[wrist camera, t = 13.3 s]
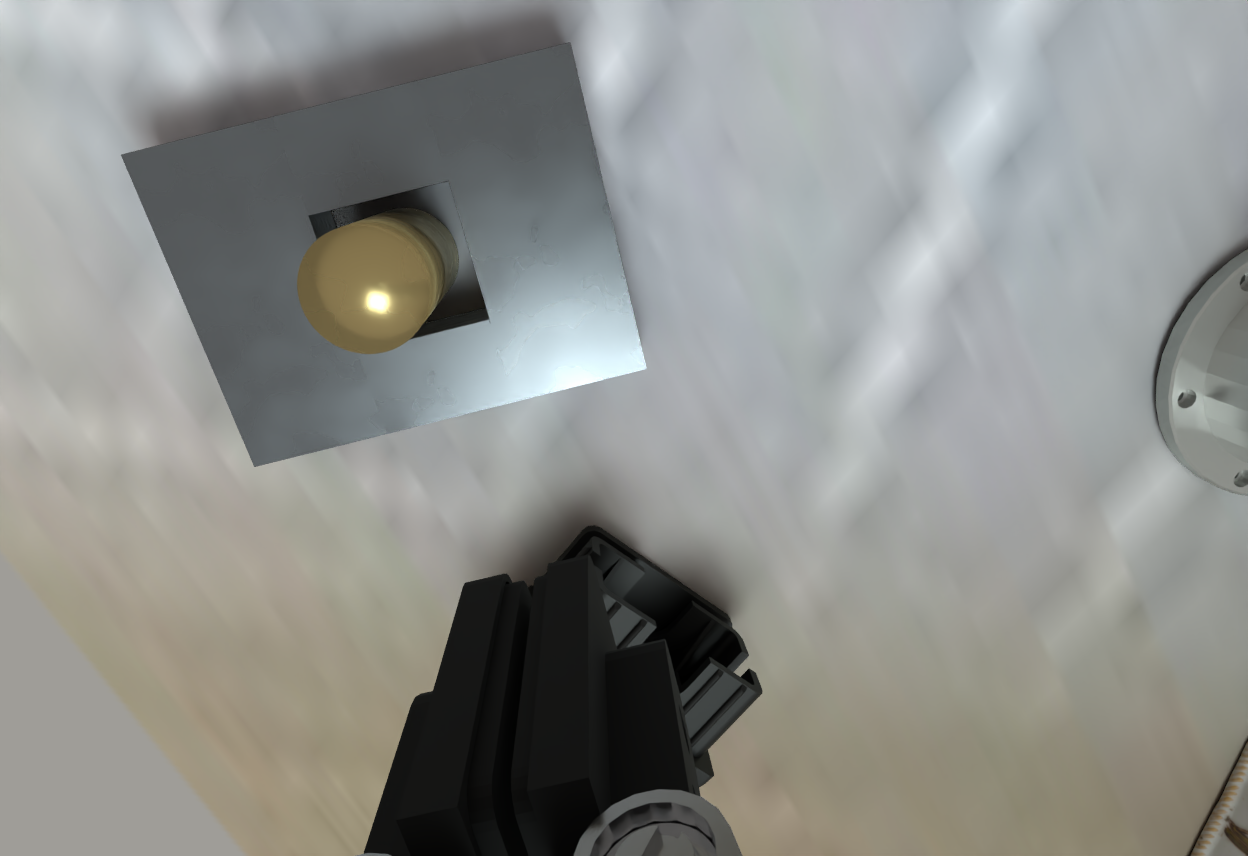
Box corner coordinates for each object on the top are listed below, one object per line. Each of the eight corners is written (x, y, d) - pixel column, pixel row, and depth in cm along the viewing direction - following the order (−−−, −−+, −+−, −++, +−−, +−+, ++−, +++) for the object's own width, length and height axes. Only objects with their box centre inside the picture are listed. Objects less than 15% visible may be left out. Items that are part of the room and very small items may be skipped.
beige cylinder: (441, 196, 31) (405, 211, 24) (470, 294, 33) (445, 337, 25) (343, 221, 31) (276, 243, 24) (377, 317, 33) (324, 367, 25)
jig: (569, 53, 30) (570, 42, 27) (639, 351, 34) (646, 368, 31) (161, 155, 30) (121, 154, 27) (279, 441, 34) (254, 466, 31)
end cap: (491, 622, 38) (478, 716, 32) (582, 514, 37) (587, 589, 30) (651, 721, 41) (669, 826, 34) (741, 623, 39) (777, 714, 33)
